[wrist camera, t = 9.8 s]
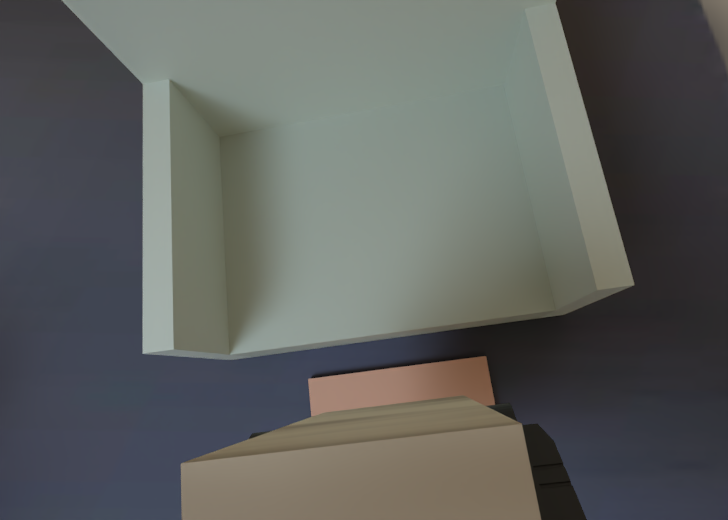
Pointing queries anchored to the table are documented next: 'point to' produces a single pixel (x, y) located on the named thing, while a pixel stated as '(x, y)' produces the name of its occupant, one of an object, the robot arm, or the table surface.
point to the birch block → (371, 468)
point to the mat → (402, 385)
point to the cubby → (358, 170)
